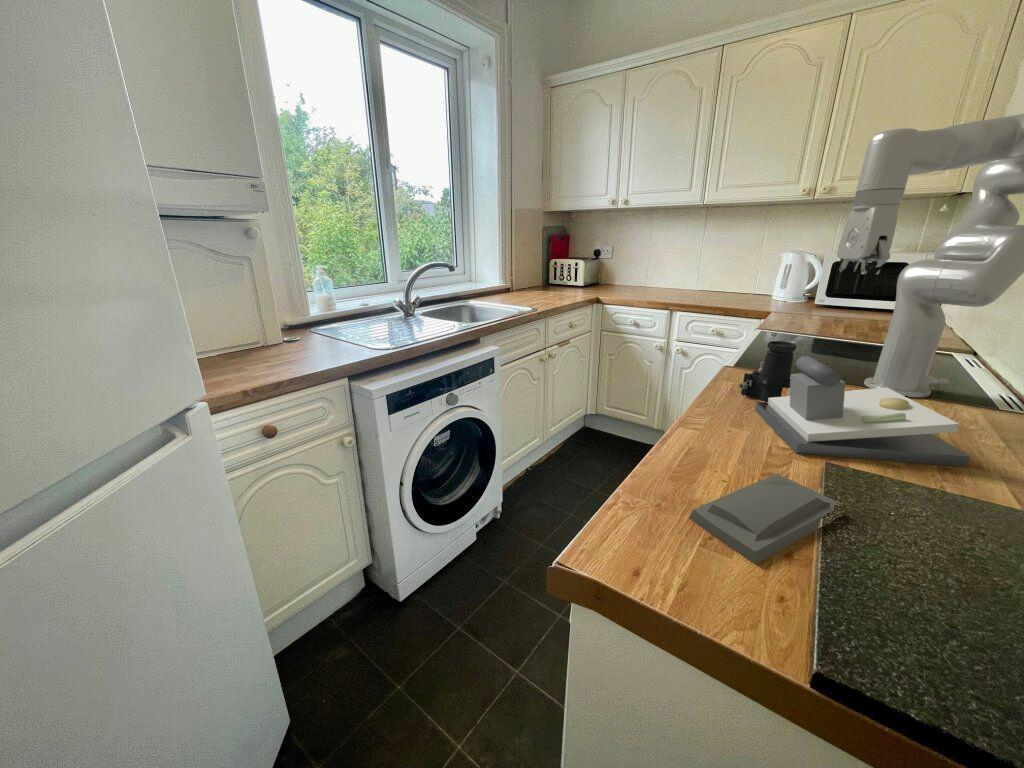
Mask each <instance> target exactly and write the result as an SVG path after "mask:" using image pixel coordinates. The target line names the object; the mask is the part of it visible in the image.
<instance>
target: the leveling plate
mask: <svg viewBox="0 0 1024 768" xmlns="http://www.w3.org/2000/svg"><path fill="white" fill-rule="evenodd" d="M795 367H796V368H797V370H800V371H801V373H790V379H791V381H790V388H789V389H790V391H789V395H787V396H781V397H773V398H768V404H769V405H770V406H771V407H772V408H773V409H774V410H775V411H776V412H777V413H778V414H779V415H780V416H781V417H782V418H783V419H784V420H785V421H787V422H788V423H789V424H790V425H791V426H792V427H793V428H794V429H795V430H796V431H797V432H798V433H799V434H800V435H801V436H802V437H803V438H805V439H806V440H807V441H808V442H811V441H826V440H842V439H857V438H872V437H888V436H903V435H918V434H933V435H934V434H946V433H947V434H949V433H958V431H959V422H956V421H954V420H952V419H950V418H948V417H946V416H945V415H942V414H941V413H939V412H936V411H934V410H932V409H931V408H929V407H926V406H924V405H923V404H921V403H918V402H917V401H914V400H913V399H911V398H910V397H905V396H903V395H901V394H899V393H897V392H895V391H893V390H891V389H889V388H887V387H886V388H874V389H871V388H865V389H853V390H845V389H846V382H845V381H844V380H842V375H841V374H840V372H838V371H836V370H835V369H833V368H831V367H830V366H827V365H826V364H823V363H822V362H821V361H818V360H817V359H814V358H813V357H810V356H809V355H802V356H800V357H799V358H798V359H797V360H796V362H795Z"/></svg>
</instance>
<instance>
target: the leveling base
mask: <svg viewBox="0 0 1024 768" xmlns="http://www.w3.org/2000/svg"><path fill="white" fill-rule="evenodd" d="M754 411H755V412H756V413H757V415H759V417H760V418H762V420H763V421H764V422H766V424H767V425H768V426H769V427H770V428H771V429H772V430H773V431H774V432H775V433H776V434H777V435H778V436H779V438H781V440H782V441H783V442H784V443H785V444H786V445H787V446H788V447H789V448H790V449H791V450H792V451H793V452H794V453H795V454H798V455H813V456H815V455H816V456H824V457H836V458H837V457H839V458H849V459H861V460H863V459H864V460H874V461H875V460H876V461H890V462H898V463H900V462H901V463H912V464H913V463H914V464H926V465H937V466H950V467H961V468H962V467H963V468H967V466H968V464H969V461H970V459H971V455H969V454H967V453H966V452H964V451H963V450H960V449H959V448H956V447H955V446H954V445H951V444H950V443H948V442H946V441H945V440H943V439H942V438H939V437H938V436H936V435H934V434H918V435H903V436H888V437H872V438H857V439H842V440H826V441H811V442H808V441H807V440H806V439H805V438H803V437H802V436H801V435H800V434H799V433H798V432H797V431H796V430H795V429H794V428H793V427H792V426H791V425H790V424H789V423H788V422H787V421H785V420H784V419H783V418H782V417H781V416H780V415H779V414H778V413H777V412H776V411H775V410H774V409H773V408H772V407H771V406H770V405H769V404H768V403H766V402H763V401H756V404H755V408H754Z"/></svg>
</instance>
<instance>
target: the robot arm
mask: <svg viewBox="0 0 1024 768" xmlns="http://www.w3.org/2000/svg"><path fill="white" fill-rule="evenodd" d="M978 165H983V166H982V167H981V168H980V169H979V170H978V172H977V174H976V176H975V178H974V180H973V187H972V196H971V203H970V205H971V206H970V211H969V213H968V214H967V215H966V216H965V218H964V219H962V221H961V222H960V223H959V224H958V225H956V226H955V227H954V229H952V231H951V232H950V233H949V234H947V236H946V237H944V239H943V240H942V241H941V242H940V243H939V244H938V246H937V248H936V249H935V252H934V256H933V259H930V258H929V259H921V260H917V261H914V262H911V263H909V264H908V265H906V266H905V267H904V268H903V269H902V270H901V271H900V273H899V274H898V277H897V281H896V293H895V294H896V296H895V304H894V309H893V313H892V315H891V320H890V322H889V327H888V330H887V333H886V336H885V339H884V343H883V346H882V350H881V353H880V356H879V360H878V363H877V366H876V369H875V373H874V375H873V377H872V376H871V377H867V378H865V379H864V382H863V385H865V387H867V388H868V389H874V388H886V387H887V388H889V389H891V390H893V391H895V392H897V393H899V394H901V395H903V396H908V397H907V398H927V397H929V396H930V395H931V393H932V390H931V389H930V388H929V387H933V386H937V387H940V386H941V387H947V386H948V385H950V384H949V383H950V380H949V379H948V378H943V377H936V378H935V377H934V375H929V372H930V370H931V367H932V364H933V360H934V358H935V356H936V353H937V349H938V346H939V344H940V340H941V338H942V336H943V332H944V330H945V327H946V314H945V313H944V311H943V308H942V307H941V305H952V306H959V307H968V308H969V307H970V308H971V307H972V308H973V307H974V308H979V307H985V306H988V305H990V304H992V303H993V302H995V301H996V300H998V299H999V298H1000V297H1001V296H1002V295H1003V294H1004V293H1005V292H1006V291H1007V290H1008V289H1009V288H1010V287H1011V286H1012V285H1013V284H1014V283H1015V282H1016V281H1017V280H1018V279H1019V278H1020V277H1021V276H1022V275H1023V274H1024V224H1018V223H1019V221H1020V216H1021V215H1020V213H1019V210H1018V208H1017V207H1016V205H1015V203H1013V202H1012V200H1010V199H1009V196H1010V195H1022V194H1023V195H1024V113H1019V114H1015V115H1014V114H1013V115H1008V116H1007V115H1006V116H1003V117H1002V116H1001V117H995V118H989V119H982V120H974V121H970V122H964V123H958V124H955V125H951V126H946V127H944V128H943V127H942V128H937V129H936V128H935V129H931V130H918V129H915V128H912V127H911V128H910V127H909V128H907V127H906V128H905V127H904V128H895V129H889V130H883V131H881V132H878V133H876V134H874V135H873V136H872V137H870V139H869V141H868V144H867V147H866V151H865V155H864V159H863V163H862V166H861V171H860V174H859V179H858V183H857V187H856V190H855V195H854V198H853V202H852V207H851V211H850V213H849V215H848V217H847V220H846V223H845V225H844V228H843V232H842V235H841V237H840V241H839V245H838V247H837V251H836V257H838V258H839V260H840V261H839V263H840V266H839V268H838V269H839V275H838V279H837V283H836V286H835V290H836V291H852V292H853V295H854V294H855V295H872V294H873V290H874V287H875V284H876V279H877V276H878V275H879V274H880V273H881V269H882V268H883V267H884V266H885V264H886V263H887V262H888V260H889V259H890V258H891V254H890V250H891V249H892V248H891V247H892V246H893V245H892V244H893V241H894V236H895V233H896V227H897V222H898V215H899V209H900V208H901V205H902V201H903V198H904V195H905V190H906V187H907V184H908V179H909V177H910V176H913V175H920V174H928V173H933V172H936V171H937V172H940V171H949V170H956V169H963V168H968V167H974V166H978ZM860 263H861V265H860ZM859 265H860V273H859V272H858V271H857V270H858V266H859Z"/></svg>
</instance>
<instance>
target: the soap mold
mask: <svg viewBox="0 0 1024 768" xmlns="http://www.w3.org/2000/svg"><path fill="white" fill-rule="evenodd" d="M835 502H836V503H838V504H836V503H835ZM834 504H835V505H838V506H840V505H839V504H841V505H842V504H843V503H841V502H840V501H837V500H835V499H833V498H831V497H828V496H826V495H824V494H822V493H820V492H817V491H815V490H813V489H811V488H809V487H807V486H805V485H802V484H800V483H799V482H796V481H794V480H792V479H790V478H788V477H786V476H783V475H781V474H779V473H774V474H772V475H770V476H768V477H765V478H763V479H761V480H758V481H756V482H754V483H752V484H748V485H747V486H744V487H741V488H739V489H737V490H735V491H731V492H730V493H728V494H726V495H723V496H721V497H719V498H717V499H714V500H712V501H710V502H707V503H704V504H703V505H700V506H697V507H695V508H693V510H692V511H691V513H690V514H689V516H688V519H690V520H691V521H692V522H693V523H695V524H696V525H698V526H699V527H701V528H702V529H704V530H705V531H707V532H708V533H709V534H711V535H713V536H714V537H715V538H716V539H718V540H720V541H721V542H722V543H723V544H725V545H727V546H728V547H730V548H731V549H732V550H735V551H736V552H737V553H738V554H739V555H742V556H743V557H744V558H745V559H747V560H748V561H750V562H751V563H753V564H754V565H757V564H760V562H763V561H764V560H767V559H768V558H770V557H771V556H774V555H776V554H777V553H779V552H781V551H782V550H784V549H786V548H788V547H790V546H792V545H793V544H795V543H797V542H799V541H801V540H803V539H804V538H806V537H808V536H810V535H812V534H813V533H815V532H817V531H818V530H817V529H818V526H819V522H820V519H822V517H823V516H825V515H826V514H827V513H829V512H831V511H833V510H834V508H835V507H834V506H835V505H834Z"/></svg>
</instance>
